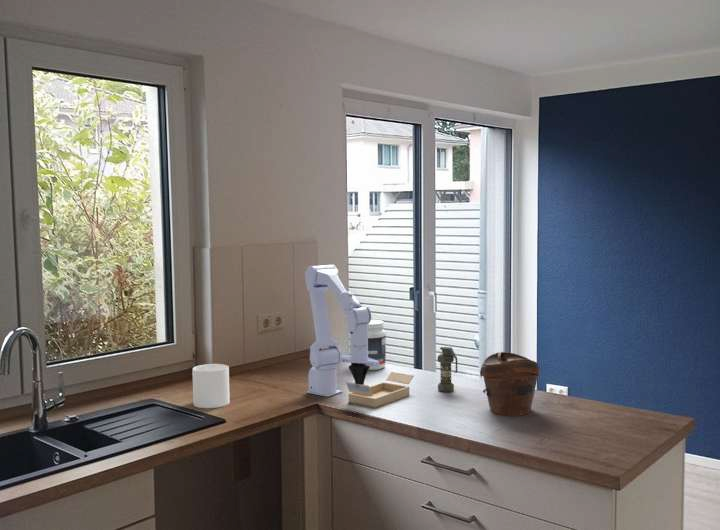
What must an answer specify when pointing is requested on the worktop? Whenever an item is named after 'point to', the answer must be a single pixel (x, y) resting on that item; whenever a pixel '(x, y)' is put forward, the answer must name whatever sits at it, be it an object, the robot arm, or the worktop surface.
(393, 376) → the far flap
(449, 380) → the grenade
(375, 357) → the supplement tub
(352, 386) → the near flap
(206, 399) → the white cylinder
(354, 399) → the light wood shallow tray
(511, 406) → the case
